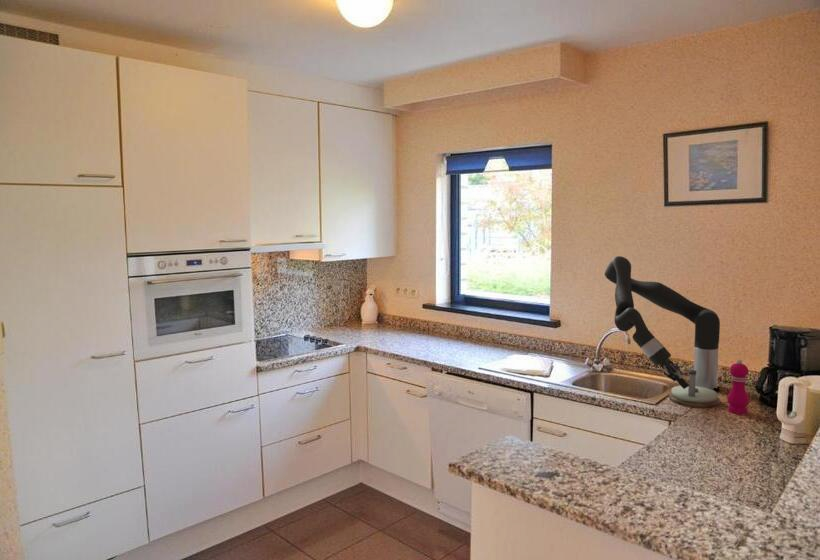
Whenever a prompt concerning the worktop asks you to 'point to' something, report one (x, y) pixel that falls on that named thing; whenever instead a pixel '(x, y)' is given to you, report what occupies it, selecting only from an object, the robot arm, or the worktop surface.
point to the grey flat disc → (694, 403)
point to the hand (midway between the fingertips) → (686, 387)
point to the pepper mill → (738, 389)
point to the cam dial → (694, 391)
